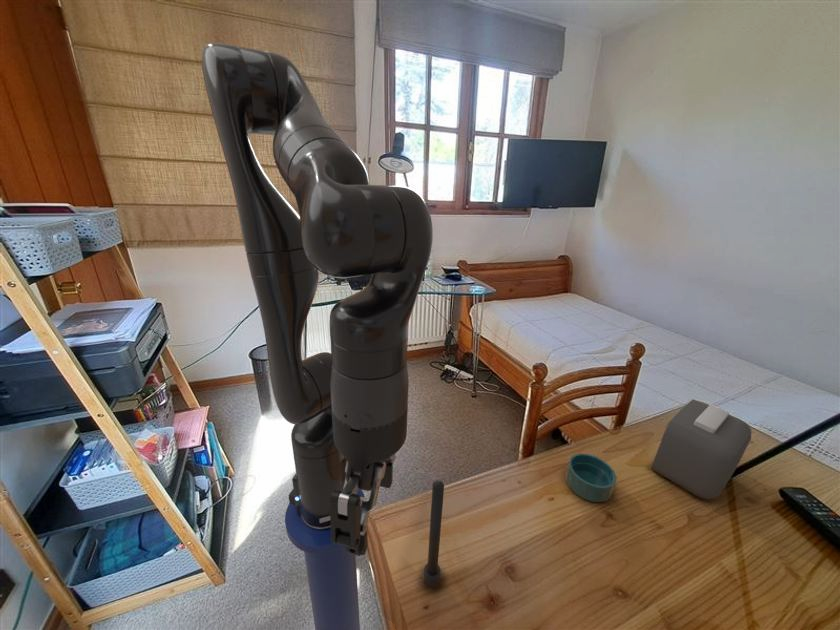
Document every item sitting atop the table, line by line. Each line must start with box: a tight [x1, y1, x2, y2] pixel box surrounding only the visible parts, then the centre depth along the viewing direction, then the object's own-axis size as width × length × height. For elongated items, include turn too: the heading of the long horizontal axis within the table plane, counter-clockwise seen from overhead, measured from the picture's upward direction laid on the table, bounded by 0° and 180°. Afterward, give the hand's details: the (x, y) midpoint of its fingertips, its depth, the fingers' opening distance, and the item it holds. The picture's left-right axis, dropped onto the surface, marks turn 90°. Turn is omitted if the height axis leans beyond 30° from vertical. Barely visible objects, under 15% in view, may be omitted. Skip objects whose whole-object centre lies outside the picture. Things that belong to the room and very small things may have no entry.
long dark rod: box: [423, 479, 445, 589], centre depth 50 cm, size 3×3×21 cm
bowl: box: [564, 452, 617, 503], centre depth 72 cm, size 9×9×4 cm
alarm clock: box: [651, 399, 752, 500], centre depth 74 cm, size 16×11×16 cm
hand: (371, 514), depth 40 cm, fingers open, 8 cm apart
